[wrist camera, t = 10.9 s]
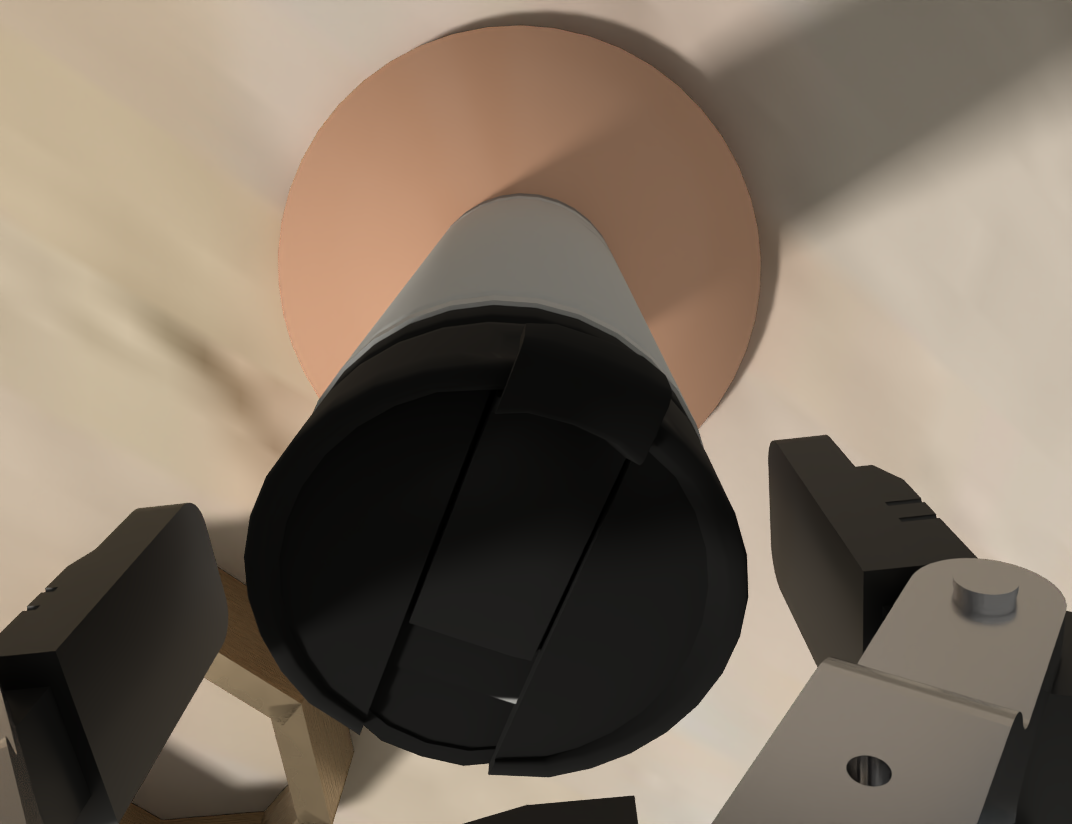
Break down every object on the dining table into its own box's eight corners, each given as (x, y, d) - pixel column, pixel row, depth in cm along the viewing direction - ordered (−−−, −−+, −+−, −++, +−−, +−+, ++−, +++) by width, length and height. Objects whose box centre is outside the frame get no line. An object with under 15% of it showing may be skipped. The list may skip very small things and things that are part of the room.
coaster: (236, 61, 27) (228, 60, 27) (746, -4, 27) (752, -8, 26) (334, 516, 33) (329, 526, 32) (762, 473, 32) (767, 482, 31)
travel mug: (651, 223, 28) (876, 456, 9) (576, 404, 30) (635, 895, 11) (468, 152, 27) (312, 245, 9) (404, 342, 30) (163, 755, 11)
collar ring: (-31, 584, 34) (-103, 644, 30) (308, 550, 33) (277, 607, 29) (71, 850, 38) (19, 931, 35) (371, 825, 38) (351, 905, 34)
